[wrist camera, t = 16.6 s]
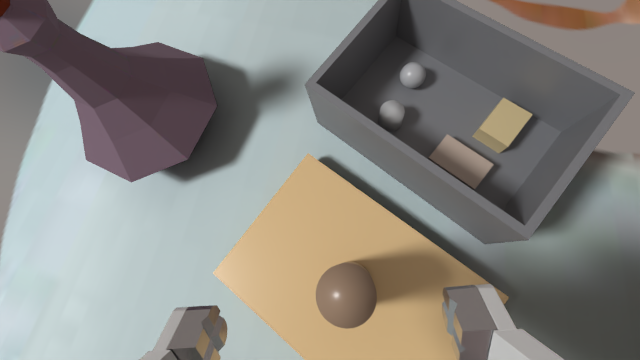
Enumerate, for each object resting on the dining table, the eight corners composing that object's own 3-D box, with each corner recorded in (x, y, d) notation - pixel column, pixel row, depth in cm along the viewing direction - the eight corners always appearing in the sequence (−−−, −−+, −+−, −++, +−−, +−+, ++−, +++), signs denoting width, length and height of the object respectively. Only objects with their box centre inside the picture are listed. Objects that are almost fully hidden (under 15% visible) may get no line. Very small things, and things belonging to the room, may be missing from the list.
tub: (393, 33, 36) (402, -28, 28) (566, 133, 31) (635, 92, 23) (317, 122, 35) (304, 84, 27) (484, 244, 29) (528, 239, 22)
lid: (312, 161, 34) (290, 119, 24) (496, 293, 28) (571, 315, 18) (224, 271, 32) (160, 279, 22) (401, 435, 27) (425, 546, 17)
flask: (121, 67, 40) (-99, -105, 21) (241, 61, 38) (115, -138, 19) (95, 190, 36) (-205, 116, 17) (226, 191, 34) (49, 108, 15)
